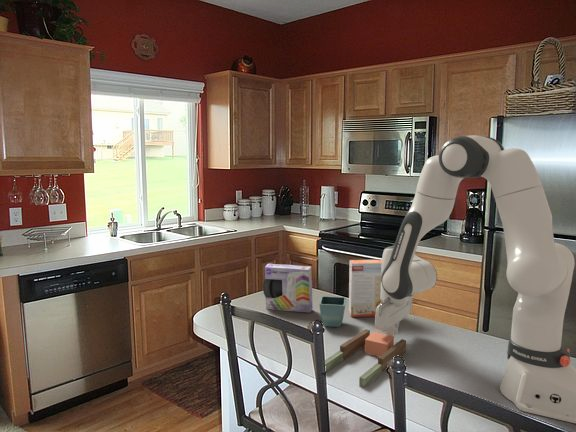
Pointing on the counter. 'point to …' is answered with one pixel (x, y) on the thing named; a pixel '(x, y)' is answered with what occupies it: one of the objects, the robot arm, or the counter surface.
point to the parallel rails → (358, 343)
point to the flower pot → (332, 310)
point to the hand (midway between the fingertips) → (392, 334)
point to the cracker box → (364, 287)
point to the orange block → (378, 343)
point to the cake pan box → (288, 287)
